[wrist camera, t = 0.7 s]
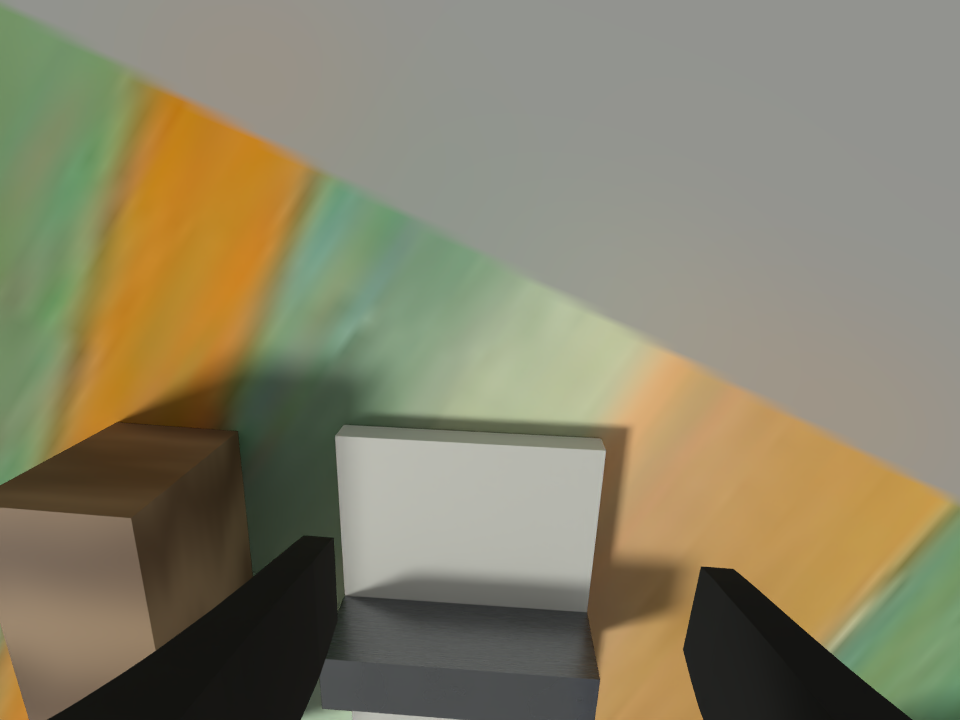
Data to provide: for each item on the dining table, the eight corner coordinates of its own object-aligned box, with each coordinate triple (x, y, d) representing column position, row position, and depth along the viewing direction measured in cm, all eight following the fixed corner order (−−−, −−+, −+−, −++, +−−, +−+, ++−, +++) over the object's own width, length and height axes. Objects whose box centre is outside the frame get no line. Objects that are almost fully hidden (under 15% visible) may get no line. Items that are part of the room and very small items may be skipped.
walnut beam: (270, 720, 25) (197, 875, 19) (173, 710, 25) (71, 861, 19) (240, 428, 20) (131, 518, 14) (120, 420, 20) (-36, 504, 14)
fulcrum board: (564, 756, 24) (575, 861, 20) (361, 739, 24) (333, 839, 20) (601, 438, 19) (624, 496, 15) (343, 424, 19) (302, 478, 15)
